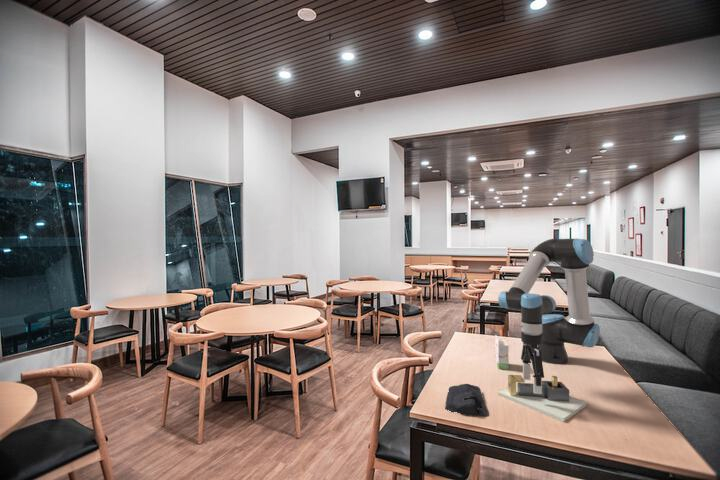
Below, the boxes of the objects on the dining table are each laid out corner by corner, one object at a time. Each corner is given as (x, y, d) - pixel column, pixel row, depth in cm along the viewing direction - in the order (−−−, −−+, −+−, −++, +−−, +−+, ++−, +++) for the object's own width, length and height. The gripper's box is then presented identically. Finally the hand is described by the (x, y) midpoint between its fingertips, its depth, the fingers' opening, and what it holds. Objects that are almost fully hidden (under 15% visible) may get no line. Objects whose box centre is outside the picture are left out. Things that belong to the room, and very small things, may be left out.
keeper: (520, 394, 138) (520, 375, 138) (524, 400, 133) (524, 380, 133) (507, 393, 139) (507, 374, 139) (511, 399, 134) (511, 379, 134)
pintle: (553, 394, 135) (553, 375, 135) (558, 396, 133) (558, 377, 133) (550, 396, 134) (550, 376, 134) (556, 398, 132) (556, 378, 132)
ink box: (509, 369, 163) (509, 339, 163) (498, 369, 164) (498, 339, 164) (505, 363, 172) (505, 334, 172) (495, 362, 173) (494, 334, 173)
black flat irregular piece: (485, 392, 141) (485, 381, 141) (487, 419, 120) (487, 406, 120) (447, 387, 146) (447, 377, 146) (444, 413, 125) (443, 400, 125)
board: (522, 382, 149) (522, 380, 149) (586, 405, 128) (586, 402, 128) (498, 395, 138) (498, 392, 138) (563, 422, 117) (563, 418, 117)
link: (560, 392, 136) (560, 381, 136) (569, 401, 129) (569, 390, 129) (515, 389, 139) (515, 379, 139) (521, 398, 132) (521, 387, 132)
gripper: (513, 324, 147) (513, 373, 147) (531, 341, 123) (532, 399, 123) (531, 325, 146) (531, 374, 146) (554, 342, 122) (554, 401, 122)
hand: (531, 386), depth 135 cm, fingers open, 12 cm apart
